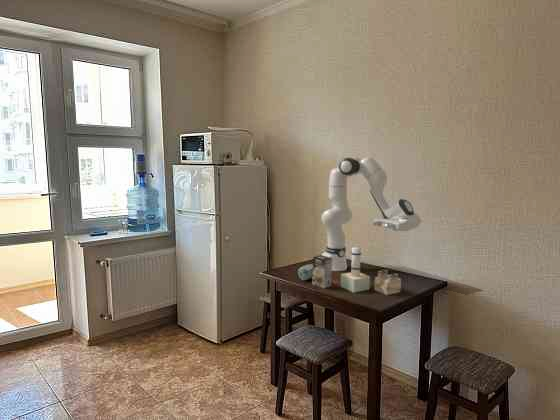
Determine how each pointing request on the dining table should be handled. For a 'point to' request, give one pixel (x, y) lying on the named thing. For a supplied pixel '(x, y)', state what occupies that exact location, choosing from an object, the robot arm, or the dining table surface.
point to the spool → (306, 272)
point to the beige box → (355, 282)
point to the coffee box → (322, 271)
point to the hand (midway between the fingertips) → (379, 224)
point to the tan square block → (387, 283)
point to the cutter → (336, 283)
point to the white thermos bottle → (355, 262)
